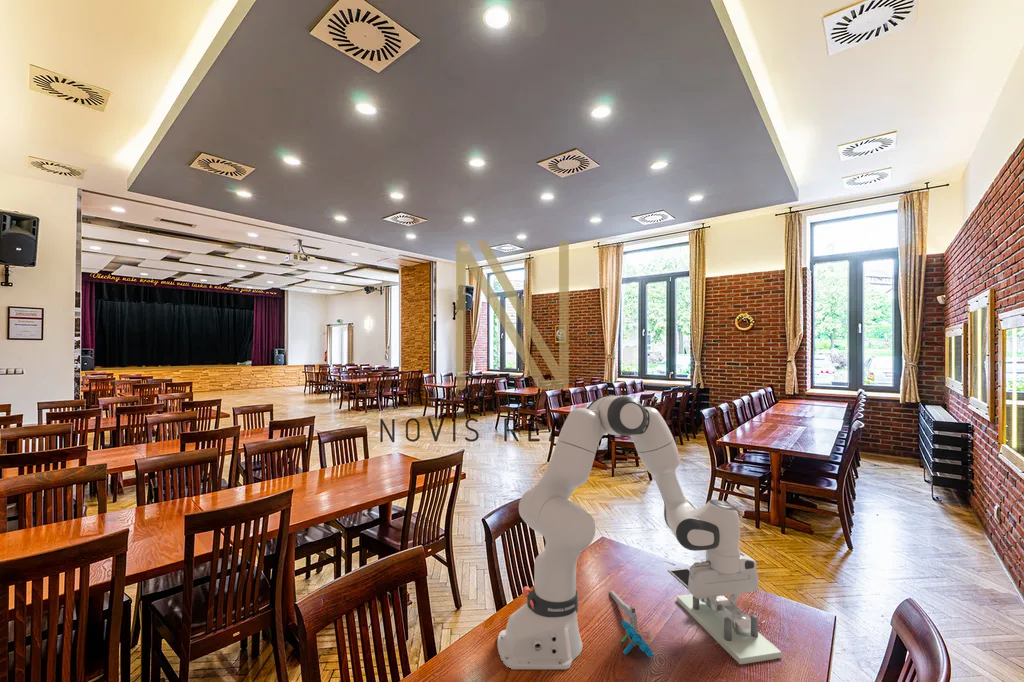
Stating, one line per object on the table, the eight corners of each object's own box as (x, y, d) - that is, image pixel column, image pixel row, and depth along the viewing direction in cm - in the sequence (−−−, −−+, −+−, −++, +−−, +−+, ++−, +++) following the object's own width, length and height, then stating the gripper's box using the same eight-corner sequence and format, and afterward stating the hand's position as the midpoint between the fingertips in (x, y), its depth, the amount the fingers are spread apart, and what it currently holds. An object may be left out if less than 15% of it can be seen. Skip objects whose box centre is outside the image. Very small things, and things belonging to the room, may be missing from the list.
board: (739, 664, 108) (739, 638, 108) (676, 600, 135) (676, 579, 136) (781, 657, 110) (781, 632, 110) (711, 596, 138) (710, 575, 138)
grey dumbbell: (740, 637, 113) (740, 622, 113) (696, 596, 132) (695, 583, 132) (754, 635, 114) (754, 620, 114) (708, 594, 133) (708, 581, 133)
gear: (660, 661, 107) (630, 630, 108) (644, 680, 106) (614, 648, 107) (647, 638, 118) (620, 609, 119) (632, 655, 117) (605, 626, 118)
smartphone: (694, 595, 139) (694, 592, 139) (667, 571, 154) (667, 568, 154) (714, 592, 141) (713, 589, 141) (685, 569, 156) (685, 566, 156)
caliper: (637, 634, 120) (637, 611, 120) (633, 634, 120) (633, 611, 120) (611, 592, 140) (611, 573, 140) (608, 593, 140) (608, 573, 140)
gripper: (696, 568, 118) (697, 620, 118) (762, 561, 122) (762, 611, 122) (683, 557, 124) (683, 606, 124) (746, 551, 128) (746, 598, 128)
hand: (723, 608), depth 123 cm, fingers closed on grey dumbbell, 3 cm apart
